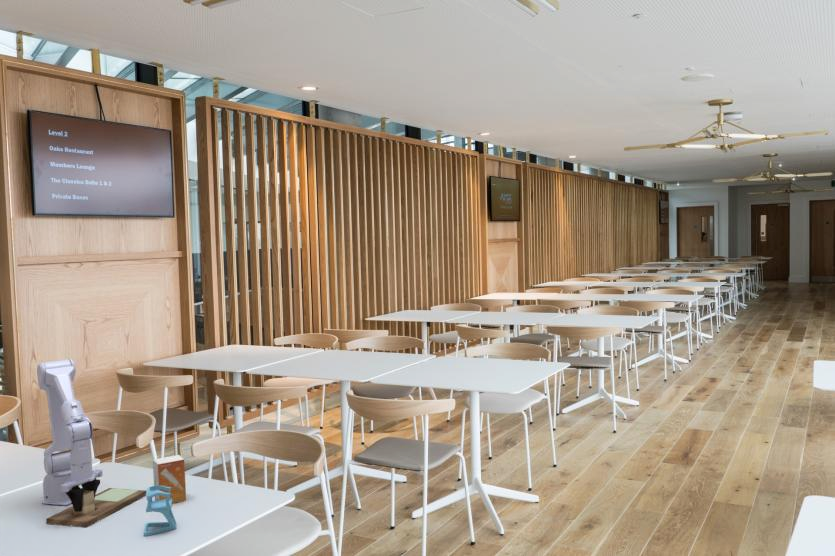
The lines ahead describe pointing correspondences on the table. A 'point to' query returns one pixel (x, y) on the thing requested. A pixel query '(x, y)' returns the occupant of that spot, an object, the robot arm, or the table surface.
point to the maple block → (87, 503)
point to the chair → (159, 509)
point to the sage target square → (115, 495)
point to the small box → (170, 477)
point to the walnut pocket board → (100, 511)
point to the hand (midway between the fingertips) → (84, 508)
